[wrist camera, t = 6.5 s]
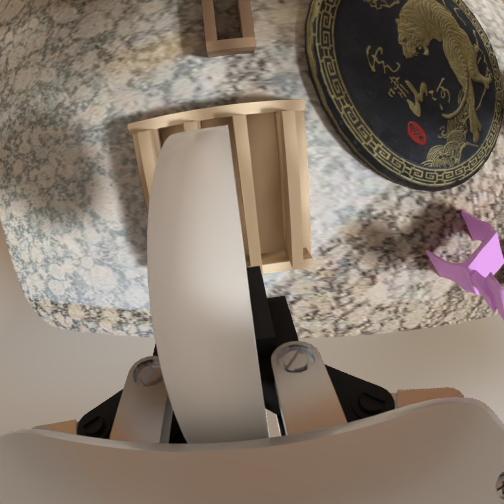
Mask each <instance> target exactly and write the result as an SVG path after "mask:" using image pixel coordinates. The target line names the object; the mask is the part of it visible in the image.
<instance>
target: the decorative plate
mask: <svg viewBox="0 0 504 504" xmlns="http://www.w3.org/2000/svg"><path fill="white" fill-rule="evenodd" d="M305 52H306V57H307V61H308V66H309V71H310V76H311V80H312V82H313V85H314V87H315V90H316V92H317V95H318V98H319V100H320V103H321V106H322V107H323V109H324V111H325V112H326V114H327V116H328V118H329V119H330V121H331V123H332V125H333V126H334V128H335V130H336V131H337V133H338V134H339V135H340V136H341V138H342V139H343V140H344V141H345V143H346V144H347V145H348V146H349V148H350V149H351V150H352V152H353V153H354V154H355V155H357V156H358V157H359V158H360V159H361V160H362V161H363V162H364V163H366V164H367V165H368V166H369V167H370V168H371V169H372V170H374V171H375V172H377V173H379V174H380V175H382V176H384V177H385V178H387V179H388V180H390V181H392V182H394V183H397V184H400V185H402V186H405V187H408V188H411V189H414V190H422V191H431V192H434V191H441V190H447V189H451V188H453V187H455V186H458V185H460V184H462V183H464V182H466V181H467V180H468V179H469V178H471V177H472V176H473V175H475V174H476V173H477V172H478V171H479V170H480V168H481V167H482V166H483V165H484V164H485V162H486V161H487V160H488V158H489V156H490V154H491V152H492V150H493V148H494V147H495V144H496V141H497V138H498V135H499V132H500V128H501V122H502V116H503V87H502V80H501V74H500V70H499V66H498V63H497V59H496V56H495V53H494V51H493V48H492V46H491V44H490V42H489V39H488V37H487V35H486V33H485V32H484V30H483V28H482V27H481V25H480V23H479V22H478V20H477V19H476V17H475V16H474V14H473V13H472V12H471V11H470V9H469V8H468V7H467V6H466V5H465V3H464V2H463V1H462V0H312V1H311V3H310V6H309V10H308V15H307V19H306V24H305Z"/></svg>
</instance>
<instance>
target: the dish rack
mask: <svg viewBox="0 0 504 504" xmlns="http://www.w3.org/2000/svg"><path fill="white" fill-rule="evenodd" d="M304 110H305V102H304V99H294V100H275V101H261V102H250V103H240V104H231V105H223V106H216V107H209V108H203V109H196V110H190V111H185V112H179V113H174V114H169V115H164V116H160V117H155V118H150V119H146V120H142V121H138V122H134V123H130V124H127V125H128V132H129V135H132V136H133V142H134V148H135V154H136V160H137V165H138V170H139V175H140V180H141V185H142V190H143V195H144V199H145V204H146V208H147V213H148V212H149V200H150V193H151V186H152V180H153V175H154V170H155V166H156V163H157V159H158V156H159V153H160V150H161V148H162V146H163V144H164V142H165V141H166V139H167V138H168V137H169V136H170V135H172V134H175V133H180V132H186V131H191V130H197V129H204V128H210V127H217V126H224V125H228V129H229V136H230V144H231V151H232V159H233V167H234V174H235V182H236V190H237V197H238V205H239V213H240V221H241V228H242V236H243V243H244V251H245V259H246V266H247V267H253V266H260V269H261V273H262V274H266V273H274V272H281V271H288V270H295V269H302V268H309V267H312V257H311V226H310V197H309V177H308V159H307V144H306V131H305V119H304Z"/></svg>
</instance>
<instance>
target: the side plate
mask: <svg viewBox="0 0 504 504" xmlns="http://www.w3.org/2000/svg"><path fill="white" fill-rule="evenodd" d="M246 267H247V266H246V259H245V251H244V243H243V236H242V228H241V221H240V213H239V205H238V197H237V190H236V182H235V174H234V167H233V159H232V151H231V144H230V136H229V129H228V125H224V126H217V127H210V128H204V129H197V130H191V131H186V132H180V133H175V134H172V135H170V136H169V137H168V138H167V139H166V141H165V142H164V144H163V146H162V148H161V150H160V153H159V156H158V159H157V163H156V166H155V170H154V175H153V180H152V186H151V193H150V200H149V212H148V227H147V268H148V287H149V297H150V307H151V316H152V324H153V330H154V336H155V341H156V347H157V352H158V357H159V362H160V366H161V371H162V375H163V378H164V382H165V385H166V389H167V392H168V396H169V399H170V402H171V405H172V408H173V411H174V414H175V416H176V419H177V421H178V424H179V426H180V428H181V431H182V433H183V436H184V438H185V439H186V441H187V443H188V444H200V443H222V442H236V441H247V440H256V439H265V438H270V437H269V429H268V422H267V415H266V408H265V404H264V397H263V390H262V383H261V376H260V369H259V362H258V355H257V348H256V340H255V333H254V325H253V318H252V310H251V302H250V294H249V286H248V278H247V270H246Z"/></svg>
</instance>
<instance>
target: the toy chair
mask: <svg viewBox="0 0 504 504" xmlns="http://www.w3.org/2000/svg"><path fill="white" fill-rule="evenodd" d="M461 214H462V216H463V218H464V220H465V223H466V225H467V228H468V230H469V232H470V235H471V237H472V240H481V241H483V242H482V243H481V244H480V246H479V247H478V248H477V249H476V250H475V251H474V253H472V254H471V255H470V256H469V257H468V258H467V259H466V260H465V261H464V262H463V263H460V264H455V263H450V262H447V261H445V260H443V259H441V258H439V257H438V256H436V255H435V254H433V253H432V252H430V251H429V250H426V251H425V252H426V254H427V255H428V257H429V259H430V260H431V262H432V264H433V266H434V267H435V269H436V271H437V273H438V274H439V276H440V277H444V278H448V279H450V280H452V281H454V282H455V283H457V284H458V285H459V286H461V287H462V288H463V289H464V290H466V291H467V292H473V293H474V294H475V295H476V296H477V295H478V294H479V293H480V294H481V295H482V297H483V298H484V299H485V300H486V302H487V303H488V304H489V306H490V307H491V309H492V310H493V311H495V310H496V308H497V309H498V312H499V314H500V315H501V317H502V318H503V320H504V291H503V288H502V286H501V285H500V283H499V282H498V280H497V279H496V278H495V277H494V276H493V275H494V274H495V273H496V272H497V271H498V270H499V269H500V268H501V266H502V265H503V264H504V259H503V255H502V252H501V248H500V244H499V239H498V235H497V232H496V231H494V230H493V229H492V226H491V225H490V224H488V223H486V222H484V221H481V220H479V219H477V218H476V217H474V216H472V215H470V214H468V213H467V212H465V211H463V210H462V211H461Z"/></svg>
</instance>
